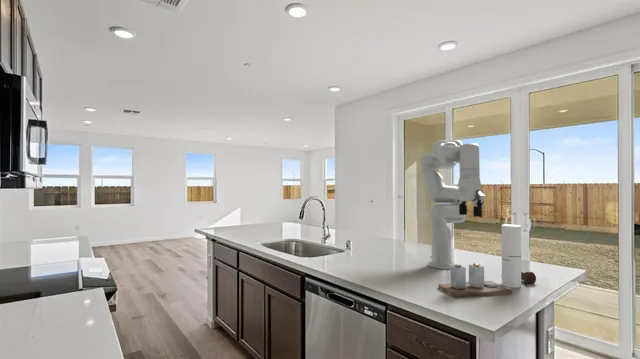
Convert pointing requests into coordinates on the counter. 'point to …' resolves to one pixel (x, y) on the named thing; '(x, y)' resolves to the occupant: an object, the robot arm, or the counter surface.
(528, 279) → the brown knobbed rod
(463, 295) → the wooden tray with canisters
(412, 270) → the counter surface
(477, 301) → the counter surface
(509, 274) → the cylindrical container
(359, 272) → the counter surface
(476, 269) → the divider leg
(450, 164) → the robot arm
